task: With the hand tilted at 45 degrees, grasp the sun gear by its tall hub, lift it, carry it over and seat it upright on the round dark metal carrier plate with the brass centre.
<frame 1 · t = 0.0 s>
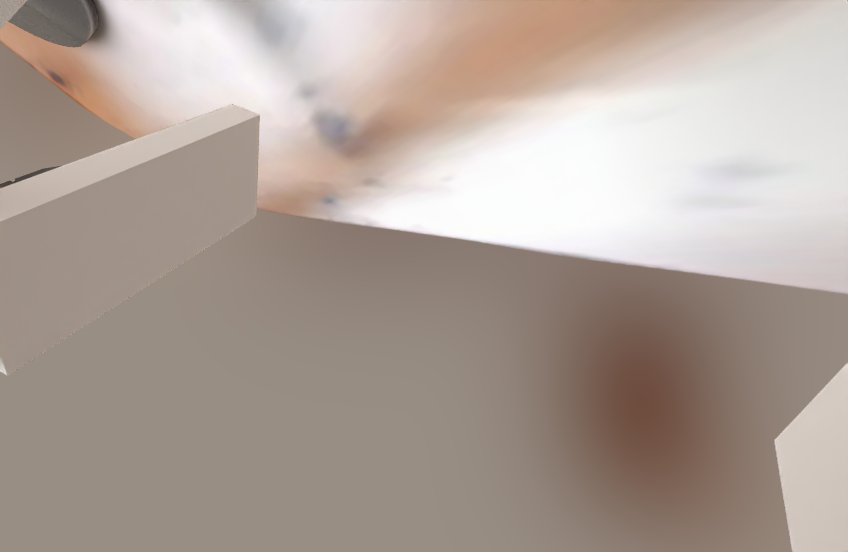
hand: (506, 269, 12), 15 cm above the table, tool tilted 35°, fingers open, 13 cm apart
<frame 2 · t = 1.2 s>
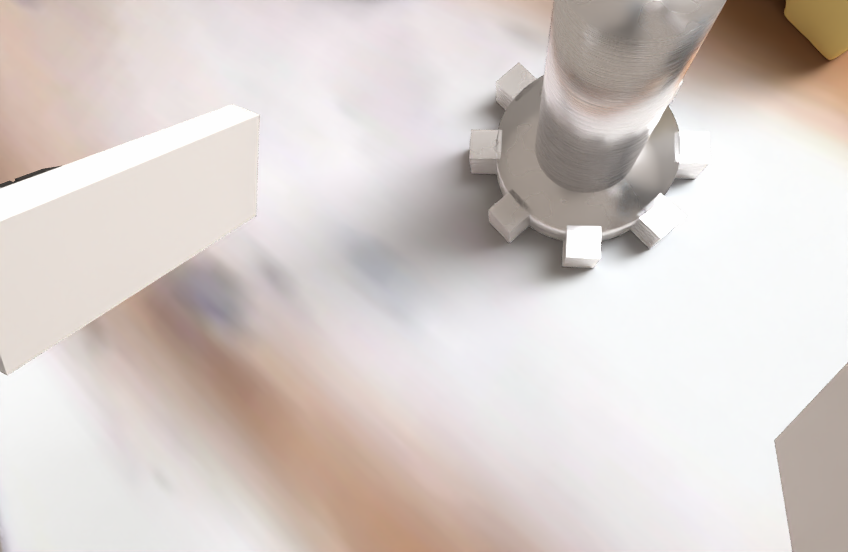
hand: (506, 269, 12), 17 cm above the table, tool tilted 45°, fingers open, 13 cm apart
sun gear: (580, 162, 30), on the table
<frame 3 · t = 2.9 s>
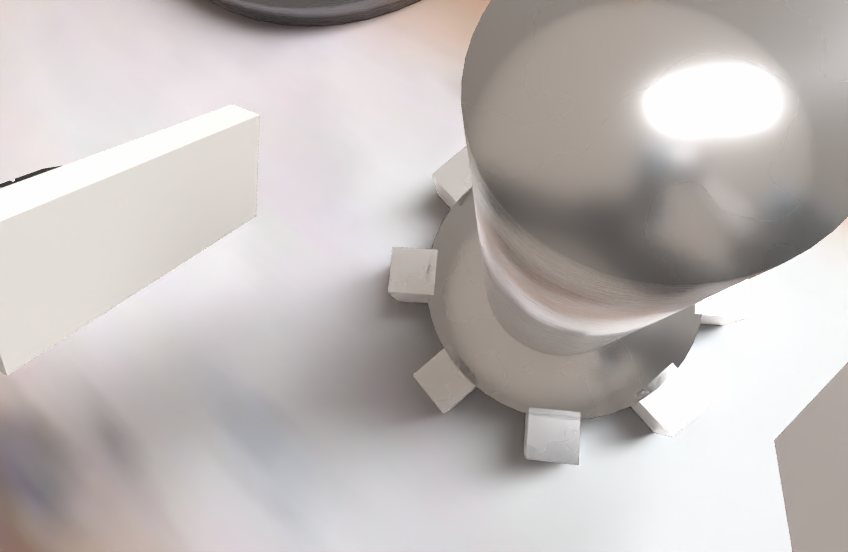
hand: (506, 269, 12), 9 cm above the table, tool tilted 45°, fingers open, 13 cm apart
sun gear: (554, 291, 20), on the table
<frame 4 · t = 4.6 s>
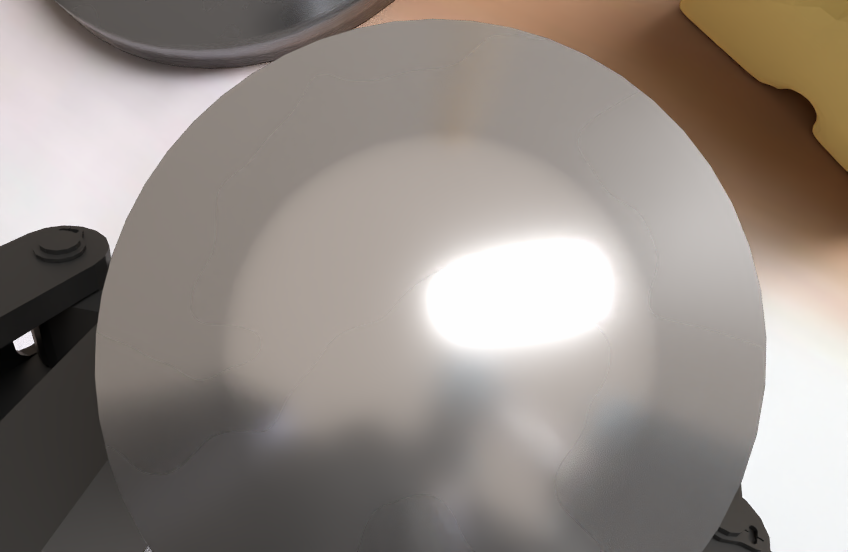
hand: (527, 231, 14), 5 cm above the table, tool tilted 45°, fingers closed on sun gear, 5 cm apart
sun gear: (474, 378, 18), on the table, touching gripper
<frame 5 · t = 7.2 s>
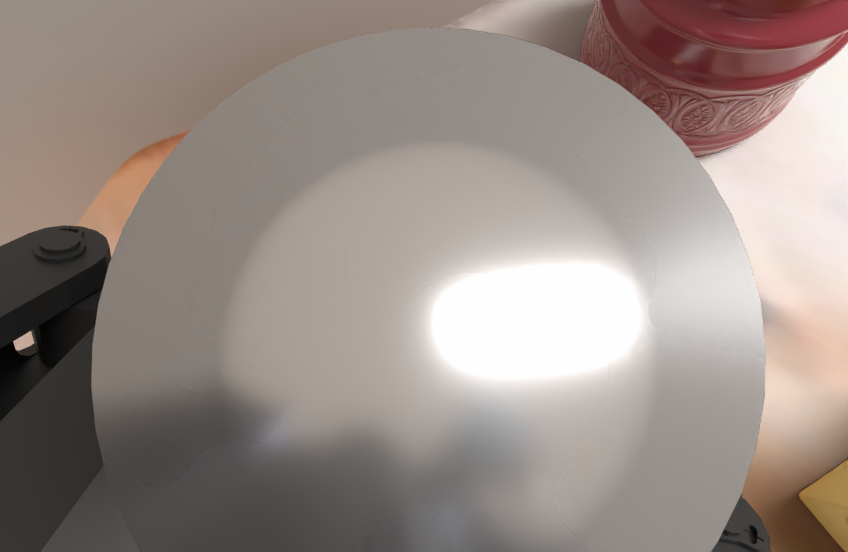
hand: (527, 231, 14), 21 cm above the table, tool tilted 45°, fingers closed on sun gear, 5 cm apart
sun gear: (473, 380, 18), point 16 cm above the table, touching gripper
canister: (677, 72, 36), on the table
when the fingers open (7 cm above the table, at t = 10.2 s): sun gear stays where it is, resting on carrier plate.
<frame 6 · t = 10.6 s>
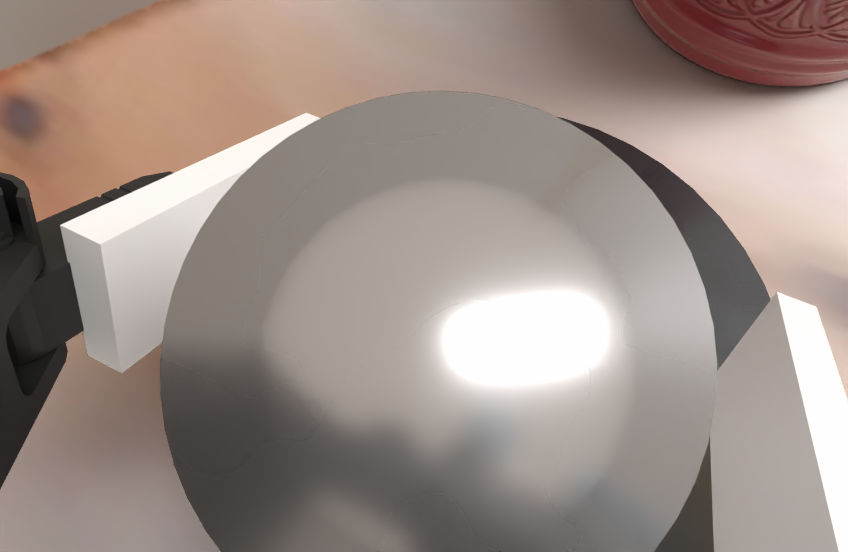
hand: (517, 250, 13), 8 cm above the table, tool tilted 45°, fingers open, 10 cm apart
sun gear: (475, 383, 19), point 2 cm above the table, touching carrier plate
carrier plate: (476, 380, 20), on the table
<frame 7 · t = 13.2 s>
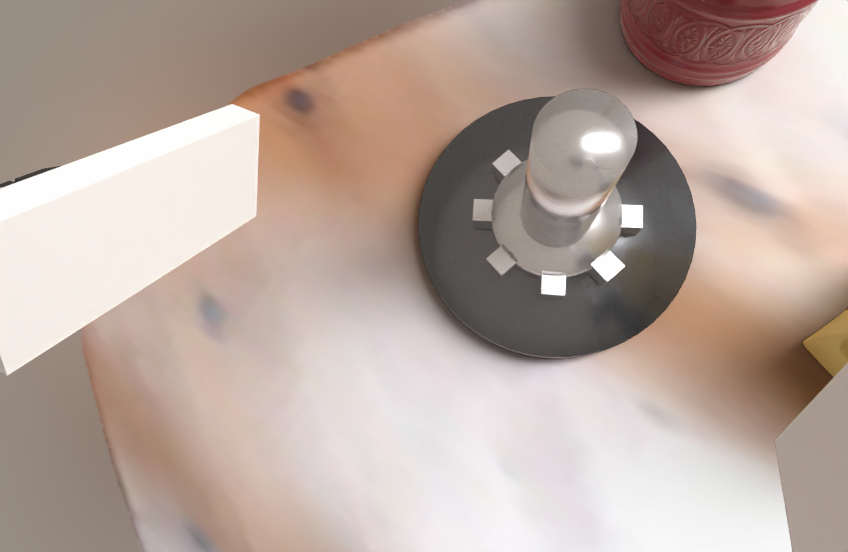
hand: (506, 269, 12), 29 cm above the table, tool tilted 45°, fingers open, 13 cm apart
sun gear: (553, 221, 41), point 2 cm above the table, touching carrier plate
canister: (698, 18, 44), on the table
carrier plate: (550, 226, 42), on the table
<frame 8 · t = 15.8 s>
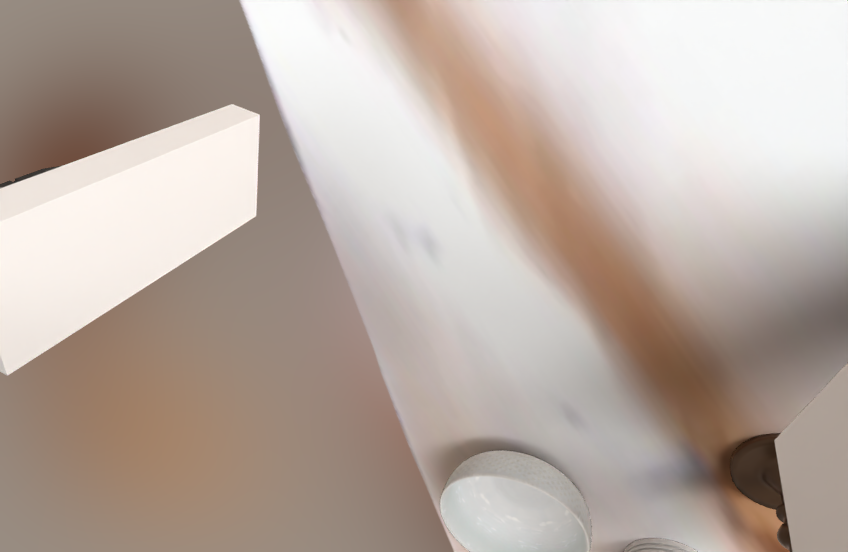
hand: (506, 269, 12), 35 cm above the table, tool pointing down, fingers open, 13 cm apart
candlestick: (784, 468, 52), on the table
cereal bowl: (525, 479, 67), on the table
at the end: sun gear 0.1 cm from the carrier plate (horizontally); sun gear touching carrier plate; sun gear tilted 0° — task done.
